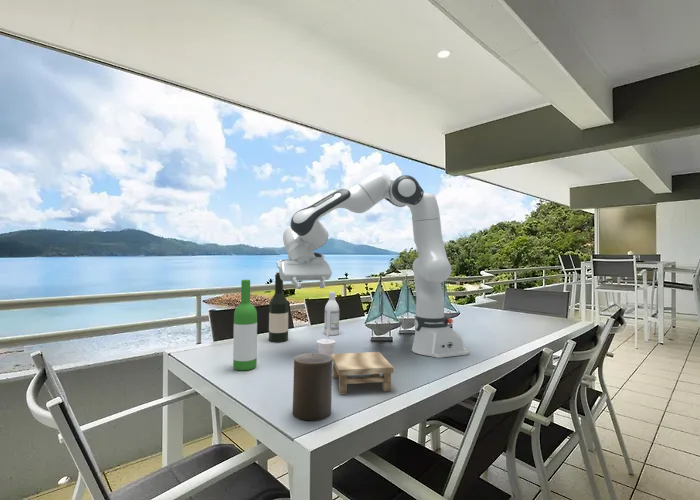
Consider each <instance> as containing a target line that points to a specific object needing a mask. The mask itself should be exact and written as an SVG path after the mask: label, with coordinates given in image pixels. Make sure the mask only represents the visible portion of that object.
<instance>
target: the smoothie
mask: <svg viewBox="0 0 700 500" xmlns="http://www.w3.org/2000/svg"><path fill="white" fill-rule="evenodd" d="M328 334H329V328H327V335H326V338H321V339H317V340H316V345H317V353H320V354H326V355H329V356H331V354H334V351H335V345H336V340H335V339H330V338H329V335H328Z"/></svg>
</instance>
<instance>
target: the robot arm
mask: <svg viewBox="0 0 700 500" xmlns="http://www.w3.org/2000/svg"><path fill="white" fill-rule="evenodd" d="M384 199H385V201H387V202H389V203H390V204H391V205H393V206H395V207H398V208H403V207H406V206H407V207H408V208H409V210H410V213H411V220H412V231H413V241H414V244H415V246H416V251H417V254H418V257H417V258H415V259H414V260H413V262H412V265H411V266H412V268H411V269H412V271H413V272H412V273H413V279H414V289H415V297H416V298H415V303H416V304H415V306H416V307H415V310H416V313H415V316H414V329H415V331H414V337H413V338H414V339H413V342H412V347H411V352H413V353H415V354H418V355H422V356H427V357H428V356H429V357H434V358H437V359H439V358H440V359H441V358H447V357H448V358H450V357H457V356H467V355H469V354H470V350H469V349H468V348H466V347H465V346H464V343H463V342H464V341H463V338H462V336H461V335H460V334H458V332H456V331H455V330H453V328H451V327H450V326H449V324H450V325H452V324H453V323H454V320H453V319H452V318H449V317H446V316H445V295H444V292H443V288H442V284H441V283H443V282H446V281H447V280H448V279H449V278H450V276H451V275H452V265H451V262H450V261H449V259H448V255H447V251H446V247H445V244H444V240H443V232H442V225H441V214H440V210H439V209H440V208H439V204H438V201H437V198H436V196H435V195H434V194H433V193H431V192H424V189H423V188H422V186H421V184H420V183H419V181H417V179H416V178H415V177H413V176H411V175H407V174H405V175H404V174H403V175H401V176H398V177H396V179H394V180H392V179H390V177H388V176H387V174H385V173H384V172H381V171H376V172H374V173H372V174H369V175H368V176H366V177H365V178H363V179H362V180H360V181H359V182H358V183H356V184H355V185H353V186H352V187H349V188H340V189H338V190H335V191H334V192H332V193H330V194H328V195H327V196H325V197H323V198H321V199H320V200H318V201H316V202H314V203H313V204H311V205H309V206H307V207H305V208H302V209H299V210H298V211H296V212H295V213H294V214H293V215H292V217H291V219H290V225H289V226H288V227H286V229H285V230H284V232H283V235H282V241H283V244H284V245H283V246H284V248H285V251H286V253H287V257H288V259H279V260H277V261H276V266H277V268H278V273H279V274H280V279H281V280H282V281H283V282H290V283H291V284H292V285H293V286H294V287H295V289H296V290H301V289H302V287H303V285H302V283H301V281H304V282H305V281H319V284H318V286H319V289H325V286H326V284H325V281H328V280H330V278H331V276H332V274H333V272H332V268H331V267H330V265H329V263H328V262H327V261H326V259H325V256H324V254H322V253H320V252H315V251H316V250H318V249H319V248H322V247H323V246H325V244H326V243H327V242H328V241H329V240H328V239H329V232H328V230H327V229H326V228H325V226H324V225H323V224H322V223H321V222H320V221H319V219H321V218H322V217H325V216H326V215H327V214H329V213H331V212H332V211H334V210H337V209H340V208H341V209H345V210H347V211H349V212H352V213H354V214H363V213H366V212H368V211H369V210H371V209H372V208H373V207H374V206H375V205H376V204H378V203H380V202H381V201H382V200H384ZM299 281H300V282H299Z"/></svg>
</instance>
